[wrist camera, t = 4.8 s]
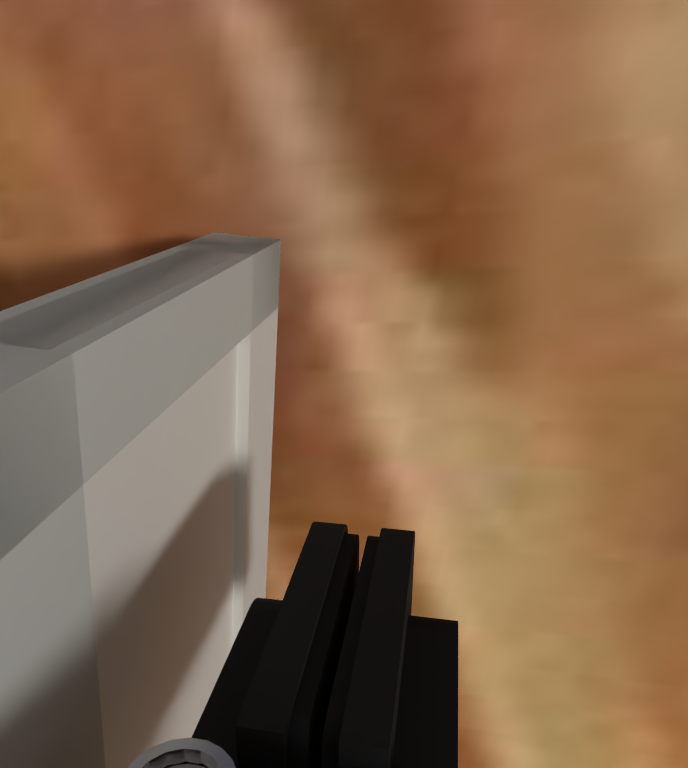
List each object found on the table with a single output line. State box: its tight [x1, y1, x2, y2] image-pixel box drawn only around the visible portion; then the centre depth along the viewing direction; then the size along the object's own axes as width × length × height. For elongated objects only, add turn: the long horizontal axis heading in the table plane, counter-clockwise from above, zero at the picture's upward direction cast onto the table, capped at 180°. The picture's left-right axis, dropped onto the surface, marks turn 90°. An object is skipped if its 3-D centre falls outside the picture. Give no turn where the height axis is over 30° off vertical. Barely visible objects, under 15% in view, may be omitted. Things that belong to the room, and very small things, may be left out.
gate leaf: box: [0, 232, 281, 768], centre depth 12 cm, size 16×2×10 cm, turn 175°
